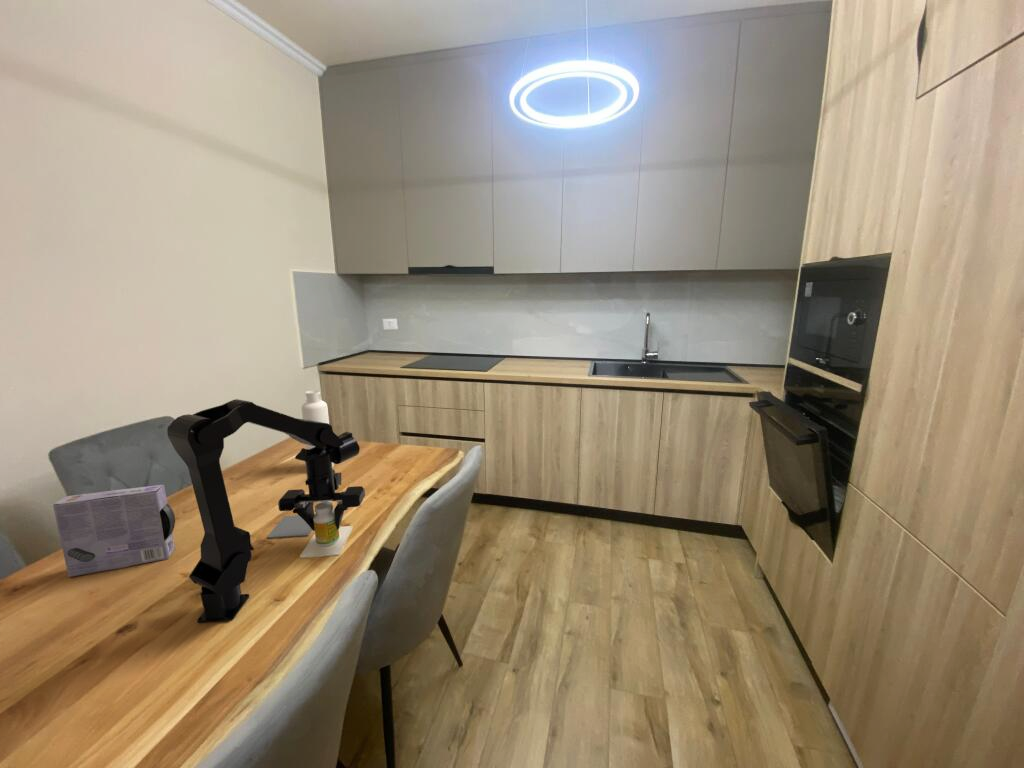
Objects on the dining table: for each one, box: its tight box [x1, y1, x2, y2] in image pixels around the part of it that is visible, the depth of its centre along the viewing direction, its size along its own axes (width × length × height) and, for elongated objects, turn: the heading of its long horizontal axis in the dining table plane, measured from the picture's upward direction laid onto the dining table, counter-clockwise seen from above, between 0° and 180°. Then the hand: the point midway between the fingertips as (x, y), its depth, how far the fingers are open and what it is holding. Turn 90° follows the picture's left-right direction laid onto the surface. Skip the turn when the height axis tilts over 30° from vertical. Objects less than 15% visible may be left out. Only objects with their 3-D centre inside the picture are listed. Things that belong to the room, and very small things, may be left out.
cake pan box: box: [52, 484, 176, 578], centre depth 93 cm, size 19×5×18 cm, turn 111°
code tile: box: [299, 525, 354, 559], centre depth 102 cm, size 12×9×1 cm
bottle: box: [301, 389, 335, 468], centre depth 142 cm, size 8×8×28 cm
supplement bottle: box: [313, 501, 339, 546], centre depth 101 cm, size 5×5×10 cm
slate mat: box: [266, 513, 316, 540], centre depth 109 cm, size 10×10×1 cm
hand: (326, 529), depth 101 cm, fingers closed on supplement bottle, 5 cm apart
